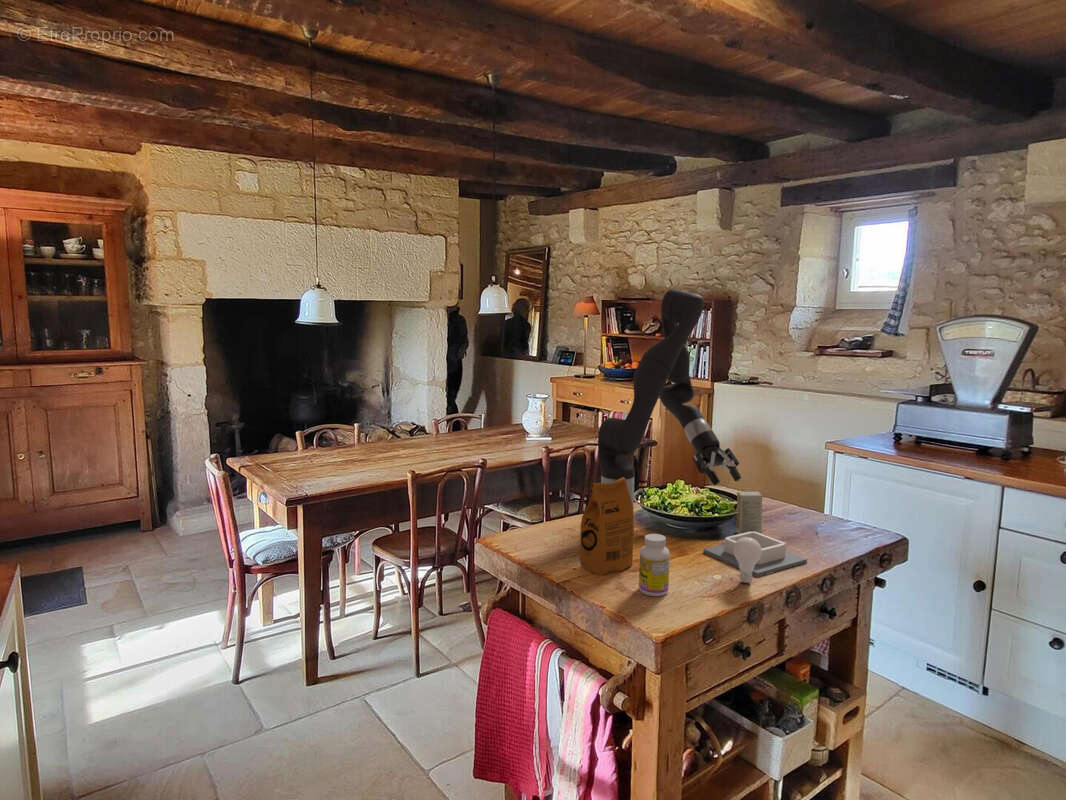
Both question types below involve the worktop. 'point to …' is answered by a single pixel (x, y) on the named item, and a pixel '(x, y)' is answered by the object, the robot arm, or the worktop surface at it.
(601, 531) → the coffee package
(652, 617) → the worktop surface
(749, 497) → the skincare box
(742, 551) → the lightbulb
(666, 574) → the supplement bottle
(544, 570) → the worktop surface
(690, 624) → the worktop surface
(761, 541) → the holder
